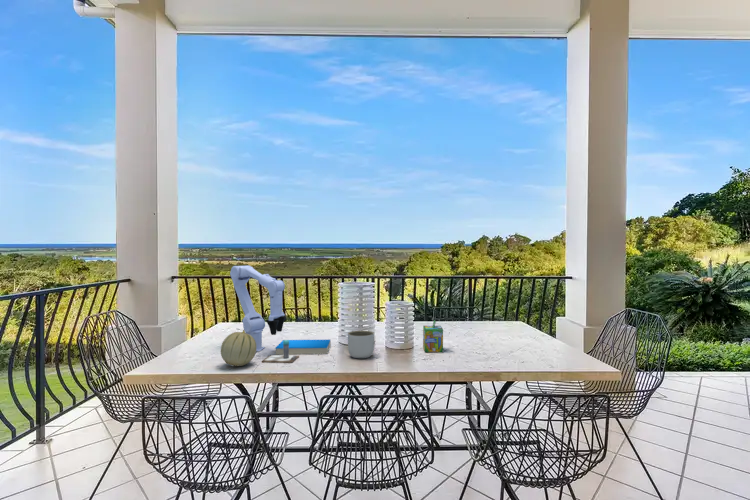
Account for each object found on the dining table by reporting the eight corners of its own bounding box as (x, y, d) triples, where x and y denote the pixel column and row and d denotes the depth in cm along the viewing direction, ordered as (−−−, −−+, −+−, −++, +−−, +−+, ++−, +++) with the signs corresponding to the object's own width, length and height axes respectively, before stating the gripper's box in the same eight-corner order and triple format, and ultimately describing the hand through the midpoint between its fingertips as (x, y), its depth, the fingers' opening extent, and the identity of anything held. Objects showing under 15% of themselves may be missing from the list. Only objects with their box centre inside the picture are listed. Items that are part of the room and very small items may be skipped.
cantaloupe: (213, 370, 160) (213, 334, 160) (231, 360, 174) (231, 327, 174) (246, 371, 158) (246, 335, 158) (262, 361, 172) (262, 328, 172)
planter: (374, 360, 173) (374, 335, 173) (347, 360, 173) (346, 336, 173) (374, 352, 185) (374, 330, 186) (348, 353, 185) (348, 330, 185)
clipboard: (261, 362, 171) (261, 359, 171) (270, 356, 181) (270, 353, 181) (291, 363, 169) (291, 359, 169) (299, 357, 179) (298, 354, 179)
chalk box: (422, 348, 194) (422, 318, 194) (441, 348, 194) (440, 318, 194) (424, 352, 185) (424, 322, 185) (443, 352, 184) (443, 322, 185)
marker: (282, 358, 173) (282, 341, 173) (284, 357, 176) (284, 339, 176) (287, 358, 173) (287, 341, 173) (289, 357, 176) (289, 339, 176)
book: (327, 347, 184) (275, 347, 183) (327, 356, 184) (275, 356, 183) (330, 339, 201) (283, 339, 200) (330, 347, 201) (282, 347, 200)
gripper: (278, 307, 178) (279, 336, 178) (289, 303, 193) (289, 330, 193) (264, 307, 179) (264, 336, 179) (275, 303, 194) (276, 330, 194)
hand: (276, 333), depth 186 cm, fingers open, 7 cm apart
